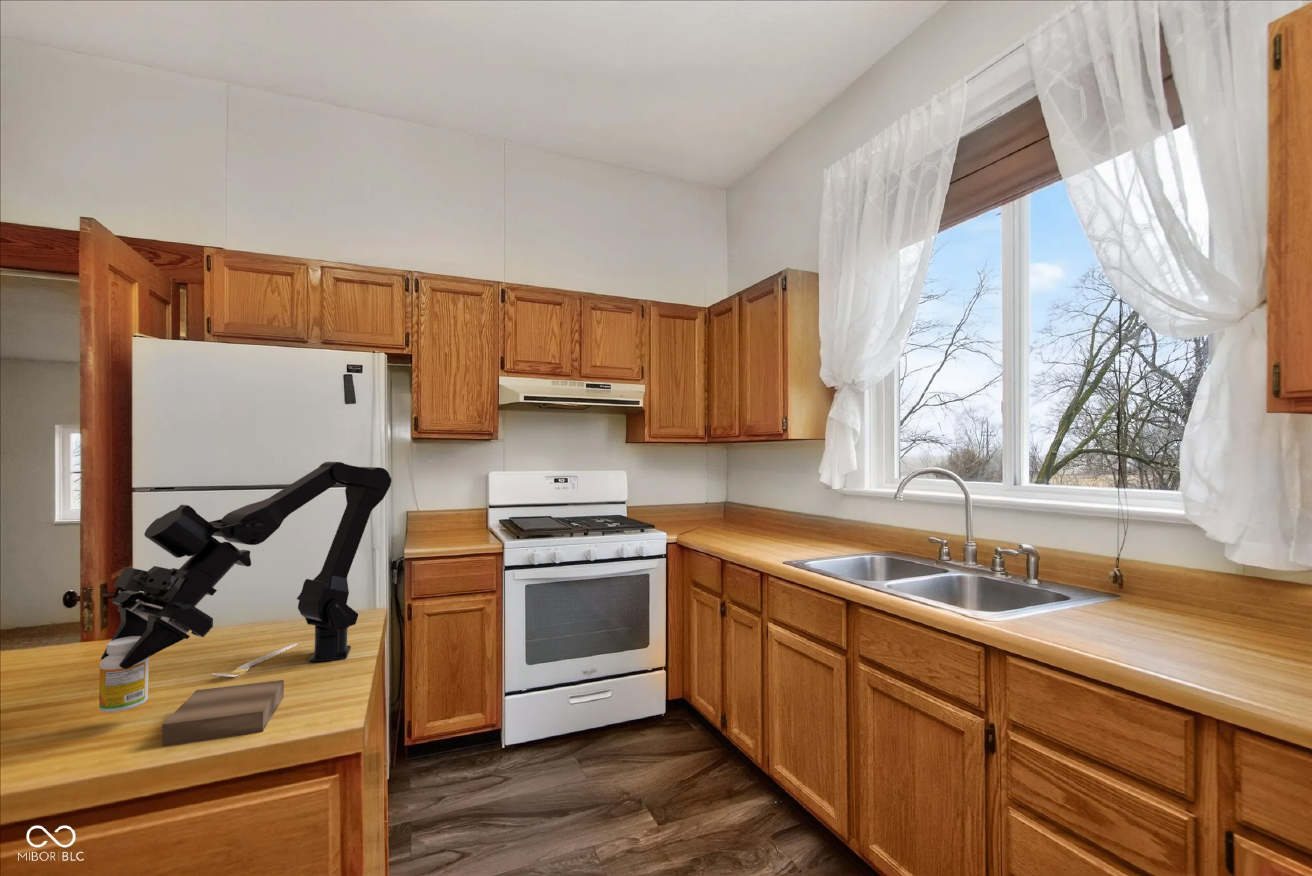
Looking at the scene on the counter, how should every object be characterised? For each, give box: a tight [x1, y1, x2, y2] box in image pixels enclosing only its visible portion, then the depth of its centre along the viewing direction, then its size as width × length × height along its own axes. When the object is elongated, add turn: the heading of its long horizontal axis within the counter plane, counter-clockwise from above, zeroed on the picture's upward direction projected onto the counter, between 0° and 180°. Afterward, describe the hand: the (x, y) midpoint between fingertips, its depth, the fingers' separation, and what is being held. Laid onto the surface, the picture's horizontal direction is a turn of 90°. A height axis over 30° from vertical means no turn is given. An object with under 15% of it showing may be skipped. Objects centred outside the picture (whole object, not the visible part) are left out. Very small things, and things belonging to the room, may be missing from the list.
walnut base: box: [161, 679, 285, 747], centre depth 87 cm, size 12×12×3 cm
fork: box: [211, 643, 298, 678], centre depth 110 cm, size 3×20×2 cm, turn 175°
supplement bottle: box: [98, 636, 150, 714], centre depth 85 cm, size 5×5×10 cm
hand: (112, 663), depth 84 cm, fingers closed on supplement bottle, 5 cm apart
